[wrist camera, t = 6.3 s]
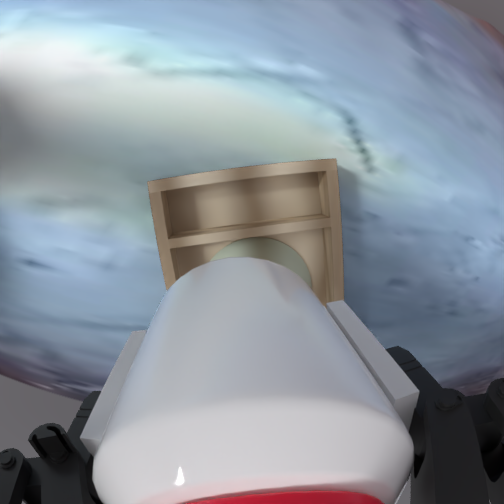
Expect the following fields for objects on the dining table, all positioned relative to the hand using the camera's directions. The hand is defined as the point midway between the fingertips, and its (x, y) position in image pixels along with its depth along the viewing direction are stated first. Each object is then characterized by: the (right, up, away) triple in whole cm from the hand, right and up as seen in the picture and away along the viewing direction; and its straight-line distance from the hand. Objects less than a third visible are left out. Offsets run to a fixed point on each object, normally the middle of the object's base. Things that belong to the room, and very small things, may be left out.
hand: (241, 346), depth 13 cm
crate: (+1, +2, +18) cm, 18 cm away
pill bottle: (0, 0, 0) cm, 0 cm away
